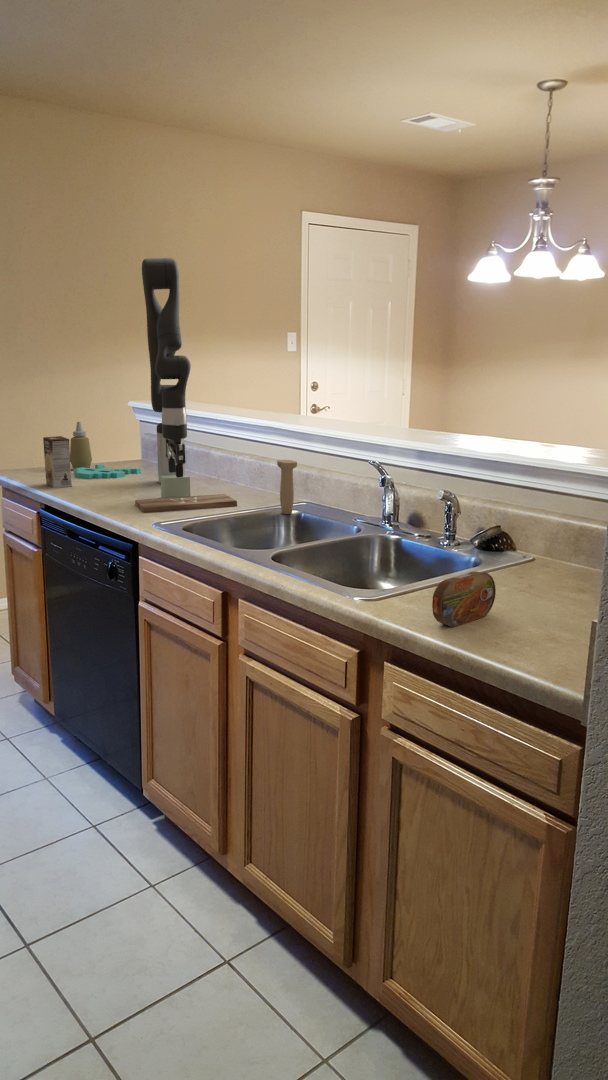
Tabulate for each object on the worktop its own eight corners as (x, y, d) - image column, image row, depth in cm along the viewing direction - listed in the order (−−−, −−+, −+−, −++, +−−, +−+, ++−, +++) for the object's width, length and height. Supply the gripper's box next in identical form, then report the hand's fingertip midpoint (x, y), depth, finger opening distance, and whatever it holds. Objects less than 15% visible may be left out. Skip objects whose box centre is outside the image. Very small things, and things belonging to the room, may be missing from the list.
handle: (285, 516, 227) (285, 463, 224) (273, 512, 232) (273, 460, 229) (299, 514, 230) (300, 462, 226) (287, 510, 235) (288, 459, 231)
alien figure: (99, 470, 307) (61, 477, 290) (99, 464, 307) (61, 471, 290) (140, 474, 298) (104, 482, 281) (140, 468, 298) (103, 475, 281)
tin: (441, 631, 138) (444, 584, 136) (427, 626, 140) (429, 580, 138) (495, 614, 147) (498, 569, 145) (481, 609, 150) (484, 566, 148)
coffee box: (45, 484, 273) (42, 436, 270) (64, 482, 277) (61, 435, 273) (53, 488, 266) (50, 439, 262) (72, 486, 270) (70, 438, 266)
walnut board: (135, 504, 241) (134, 499, 240) (224, 498, 251) (224, 493, 251) (143, 512, 230) (143, 507, 230) (237, 505, 241) (236, 500, 240)
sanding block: (161, 497, 252) (160, 475, 250) (186, 496, 255) (185, 474, 254) (165, 500, 248) (164, 478, 246) (190, 499, 251) (189, 476, 249)
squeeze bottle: (66, 470, 301) (63, 422, 297) (76, 467, 309) (73, 420, 305) (87, 471, 300) (84, 423, 296) (95, 468, 308) (93, 421, 304)
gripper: (156, 420, 251) (158, 471, 255) (168, 425, 238) (169, 479, 242) (180, 419, 254) (181, 470, 258) (192, 424, 241) (194, 477, 245)
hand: (175, 474), depth 250 cm, fingers open, 8 cm apart
